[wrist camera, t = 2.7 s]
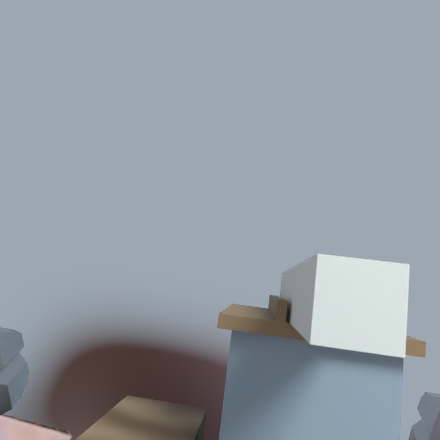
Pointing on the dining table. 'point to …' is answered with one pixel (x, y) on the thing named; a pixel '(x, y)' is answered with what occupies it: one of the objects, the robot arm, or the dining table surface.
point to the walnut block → (148, 421)
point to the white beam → (349, 303)
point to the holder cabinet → (305, 383)
